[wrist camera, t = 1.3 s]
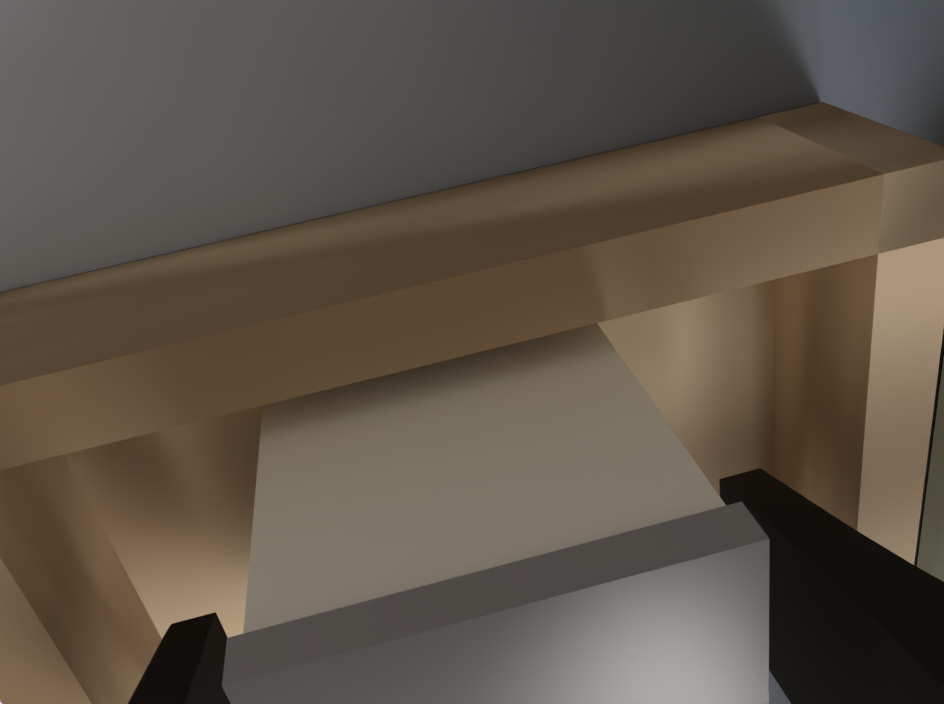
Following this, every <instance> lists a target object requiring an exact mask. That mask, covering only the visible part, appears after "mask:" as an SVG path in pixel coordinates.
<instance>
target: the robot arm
mask: <svg viewBox="0 0 944 704" xmlns="http://www.w3.org/2000/svg"><path fill="white" fill-rule="evenodd" d="M719 483H720V498H721V499H722V500H723V502H724V503H725V505H730V504H734V503H738V502H743V504H744V505H745V506H746V508H747V509H748V511H749V512H750V513H751V515H752V516H753V517H754V519H755V520H756V521H757V523H758V524H759V525H760V527H761V528H762V529H763V531H764V532H765V534H766V535H767V536H768V538H769V670H770V671H771V673H772V675H773V676H774V678H775V679H776V681H777V682H778V684H779V685H780V687H781V688H782V690H783V691H784V693H785V695H786V696H787V698H788V699H789V701H790V702H791V704H944V581H942V580H940V579H938V578H936V577H934V576H932V575H931V574H929V573H927V572H925V571H924V570H922V569H920V568H918V567H917V566H915V565H913V564H911V563H910V562H908V561H906V560H905V559H903V558H901V557H900V556H898V555H896V554H895V553H893V552H891V551H890V550H888V549H886V548H885V547H883V546H881V545H880V544H878V543H876V542H875V541H873V540H871V539H870V538H868V537H866V536H865V535H863V534H862V533H860V532H858V531H857V530H855V529H854V528H852V527H850V526H849V525H847V524H846V523H844V522H843V521H841V520H839V519H838V518H836V517H835V516H833V515H832V514H830V513H829V512H827V511H825V510H824V509H822V508H821V507H819V506H818V505H816V504H815V503H813V502H812V501H810V500H808V499H807V498H805V497H804V496H802V495H801V494H799V493H798V492H796V491H795V490H793V489H792V488H790V487H789V486H787V485H785V484H784V483H782V482H781V481H779V480H778V479H776V478H775V477H773V476H771V475H770V474H768V473H767V472H765V471H764V470H762V469H761V468H759V469H755V470H751V471H748V472H744V473H740V474H736V475H733V476H729V477H725V478H721V479H719ZM227 638H228V637H227V635H226V633H225V631H224V629H223V626H222V624H221V622H220V620H219V618H218V616H217V614H216V612H214V613H211V614H207V615H203V616H199V617H195V618H192V619H188V620H184V621H180V622H177V623H173V624H171V625H170V627H169V628H168V630H167V631H166V633H165V635H164V636H163V638H162V640H161V642H160V644H159V646H158V648H157V649H156V651H155V653H154V655H153V657H152V659H151V661H150V663H149V664H148V666H147V668H146V670H145V672H144V674H143V676H142V678H141V680H140V681H139V683H138V685H137V687H136V689H135V691H134V693H133V695H132V696H131V698H130V700H129V702H128V704H230V702H229V700H228V698H227V696H226V694H225V692H224V690H223V688H222V680H223V671H224V662H225V652H226V643H227Z"/></svg>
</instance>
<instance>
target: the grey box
mask: <svg viewBox="0 0 944 704" xmlns="http://www.w3.org/2000/svg"><path fill="white" fill-rule="evenodd" d="M222 688H223V690H224V692H225V694H226V696H227V698H228V700H229V702H230V704H769V538H768V536H767V535H766V534H765V532H764V531H763V529H762V528H761V527H760V525H759V524H758V523H757V521H756V520H755V519H754V517H753V516H752V515H751V513H750V512H749V511H748V509H747V508H746V506H745V505H744V504H743V502H738V503H734V504H730V505H725V503H724V502H723V500H722V499H721V498H720V496H719V495H718V493H717V492H716V491H715V489H714V488H713V486H712V485H711V483H710V482H709V481H708V479H707V478H706V476H705V475H704V474H703V472H702V471H701V469H700V468H699V466H698V465H697V464H696V462H695V461H694V459H693V458H692V457H691V455H690V454H689V452H688V451H687V450H686V448H685V447H684V445H683V444H682V442H681V441H680V440H679V438H678V437H677V435H676V434H675V433H674V431H673V430H672V428H671V427H670V426H669V424H668V423H667V421H666V420H665V418H664V417H663V416H662V414H661V413H660V411H659V410H658V409H657V407H656V406H655V404H654V403H653V401H652V400H651V399H650V397H649V396H648V394H647V393H646V392H645V390H644V389H643V387H642V386H641V385H640V383H639V382H638V380H637V379H636V377H635V376H634V375H633V373H632V372H631V370H630V369H629V368H628V366H627V365H626V363H625V362H624V361H623V359H622V358H621V356H620V355H619V353H618V352H617V351H616V349H615V348H614V346H613V345H612V344H611V342H610V341H609V339H608V338H607V336H606V335H605V334H604V332H603V331H602V329H601V328H600V327H599V325H598V324H597V323H596V324H592V325H587V326H583V327H579V328H575V329H571V330H567V331H563V332H559V333H555V334H551V335H547V336H543V337H539V338H535V339H531V340H527V341H523V342H518V343H514V344H510V345H506V346H502V347H498V348H494V349H490V350H486V351H482V352H478V353H474V354H470V355H466V356H462V357H458V358H453V359H449V360H445V361H441V362H437V363H433V364H429V365H425V366H421V367H417V368H413V369H409V370H405V371H401V372H397V373H393V374H388V375H384V376H380V377H376V378H372V379H368V380H364V381H360V382H356V383H352V384H348V385H344V386H340V387H336V388H332V389H328V390H323V391H319V392H315V393H311V394H307V395H303V396H299V397H295V398H291V399H287V400H283V401H279V402H275V403H271V404H267V405H263V408H262V419H261V431H260V443H259V455H258V466H257V478H256V490H255V501H254V513H253V525H252V537H251V548H250V560H249V572H248V583H247V595H246V607H245V619H244V630H243V634H240V635H236V636H232V637H229V638H227V643H226V652H225V662H224V671H223V680H222Z"/></svg>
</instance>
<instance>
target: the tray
mask: <svg viewBox="0 0 944 704" xmlns="http://www.w3.org/2000/svg"><path fill="white" fill-rule="evenodd" d="M917 567H918V568H920V569H922V570H924V571H925V572H927V573H929V574H931V575H932V576H934V577H936V578H938V579H940V580H942V581H944V357H943V365H942V373H941V381H940V389H939V396H938V404H937V412H936V420H935V428H934V436H933V444H932V451H931V459H930V467H929V475H928V483H927V491H926V498H925V506H924V514H923V522H922V530H921V538H920V545H919V553H918V561H917Z"/></svg>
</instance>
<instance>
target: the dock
mask: <svg viewBox="0 0 944 704" xmlns="http://www.w3.org/2000/svg"><path fill="white" fill-rule="evenodd" d="M596 323H597V324H598V325H599V327H600V328H601V329H602V331H603V332H604V334H605V335H606V336H607V338H608V339H609V341H610V342H611V344H612V345H613V346H614V348H615V349H616V351H617V352H618V353H619V355H620V356H621V358H622V359H623V361H624V362H625V363H626V365H627V366H628V368H629V369H630V370H631V372H632V373H633V375H634V376H635V377H636V379H637V380H638V382H639V383H640V385H641V386H642V387H643V389H644V390H645V392H646V393H647V394H648V396H649V397H650V399H651V400H652V401H653V403H654V404H655V406H656V407H657V409H658V410H659V411H660V413H661V414H662V416H663V417H664V418H665V420H666V421H667V423H668V424H669V426H670V427H671V428H672V430H673V431H674V433H675V434H676V435H677V437H678V438H679V440H680V441H681V442H682V444H683V445H684V447H685V448H686V450H687V451H688V452H689V454H690V455H691V457H692V458H693V459H694V461H695V462H696V464H697V465H698V466H699V468H700V469H701V471H702V472H703V474H704V475H705V476H706V478H707V479H708V481H709V482H710V483H711V485H712V486H713V488H714V489H715V491H716V492H717V493H718V495H719V496H720V483H719V479H721V478H725V477H729V476H733V475H736V474H740V473H744V472H748V471H751V470H755V469H759V468H761V469H762V470H764V471H765V472H767V473H768V474H770V475H771V476H773V477H775V478H776V479H778V480H779V481H781V482H782V483H784V484H785V485H787V486H789V487H790V488H792V489H793V490H795V491H796V492H798V493H799V494H801V495H802V496H804V497H805V498H807V499H808V500H810V501H812V502H813V503H815V504H816V505H818V506H819V507H821V508H822V509H824V510H825V511H827V512H829V513H830V514H832V515H833V516H835V517H836V518H838V519H839V520H841V521H843V522H844V523H846V524H847V525H849V526H850V527H852V528H854V529H855V530H857V531H858V532H860V533H862V534H863V535H865V536H866V537H868V538H870V539H871V540H873V541H875V542H876V543H878V544H880V545H881V546H883V547H885V548H886V549H888V550H890V551H891V552H893V553H895V554H896V555H898V556H900V557H901V558H903V559H905V560H906V561H908V562H910V563H911V564H913V565H914V561H915V553H916V545H917V537H918V529H919V521H920V513H921V505H922V497H923V489H924V481H925V473H926V465H927V457H928V449H929V441H930V433H931V425H932V417H933V409H934V401H935V393H936V385H937V377H938V369H939V361H940V353H941V345H942V337H943V329H944V147H943V146H940V145H937V144H935V143H932V142H929V141H927V140H924V139H921V138H918V137H916V136H913V135H910V134H908V133H905V132H902V131H900V130H897V129H894V128H891V127H889V126H886V125H883V124H881V123H878V122H875V121H873V120H870V119H867V118H864V117H862V116H859V115H856V114H854V113H851V112H848V111H845V110H843V109H840V108H837V107H835V106H832V105H829V104H827V103H824V102H821V103H817V104H813V105H808V106H804V107H800V108H796V109H791V110H787V111H783V112H778V113H774V114H770V115H765V116H761V117H757V118H752V119H748V120H744V121H739V122H735V123H731V124H726V125H722V126H718V127H713V128H709V129H705V130H700V131H696V132H692V133H688V134H683V135H679V136H675V137H670V138H666V139H662V140H657V141H653V142H649V143H644V144H640V145H636V146H631V147H627V148H623V149H618V150H614V151H610V152H605V153H601V154H597V155H592V156H588V157H584V158H580V159H575V160H571V161H567V162H562V163H558V164H554V165H549V166H545V167H541V168H536V169H532V170H528V171H523V172H519V173H515V174H510V175H506V176H502V177H497V178H493V179H489V180H484V181H480V182H476V183H472V184H467V185H463V186H459V187H454V188H450V189H446V190H441V191H437V192H433V193H428V194H424V195H420V196H415V197H411V198H407V199H402V200H398V201H394V202H389V203H385V204H381V205H376V206H372V207H368V208H364V209H359V210H355V211H351V212H346V213H342V214H338V215H333V216H329V217H325V218H320V219H316V220H312V221H307V222H303V223H299V224H294V225H290V226H286V227H281V228H277V229H273V230H268V231H264V232H260V233H256V234H251V235H247V236H243V237H238V238H234V239H230V240H225V241H221V242H217V243H212V244H208V245H204V246H199V247H195V248H191V249H186V250H182V251H178V252H173V253H169V254H165V255H160V256H156V257H152V258H148V259H143V260H139V261H135V262H130V263H126V264H122V265H117V266H113V267H109V268H104V269H100V270H96V271H91V272H87V273H83V274H78V275H74V276H70V277H65V278H61V279H57V280H52V281H48V282H44V283H40V284H35V285H31V286H27V287H22V288H18V289H14V290H9V291H5V292H1V293H0V700H1V702H2V703H3V704H128V702H129V700H130V698H131V696H132V695H133V693H134V691H135V689H136V687H137V685H138V683H139V681H140V680H141V678H142V676H143V674H144V672H145V670H146V668H147V666H148V664H149V663H150V661H151V659H152V657H153V655H154V653H155V651H156V649H157V648H158V646H159V644H160V642H161V640H162V638H163V636H164V635H165V633H166V631H167V630H168V628H169V627H170V625H171V624H173V623H177V622H180V621H184V620H188V619H192V618H195V617H199V616H203V615H207V614H211V613H214V612H216V614H217V616H218V618H219V620H220V622H221V624H222V626H223V629H224V631H225V633H226V635H227V637H228V638H229V637H232V636H236V635H240V634H243V630H244V619H245V607H246V595H247V583H248V572H249V560H250V548H251V537H252V525H253V513H254V501H255V490H256V478H257V466H258V455H259V443H260V431H261V419H262V408H263V405H267V404H271V403H275V402H279V401H283V400H287V399H291V398H295V397H299V396H303V395H307V394H311V393H315V392H319V391H323V390H328V389H332V388H336V387H340V386H344V385H348V384H352V383H356V382H360V381H364V380H368V379H372V378H376V377H380V376H384V375H388V374H393V373H397V372H401V371H405V370H409V369H413V368H417V367H421V366H425V365H429V364H433V363H437V362H441V361H445V360H449V359H453V358H458V357H462V356H466V355H470V354H474V353H478V352H482V351H486V350H490V349H494V348H498V347H502V346H506V345H510V344H514V343H518V342H523V341H527V340H531V339H535V338H539V337H543V336H547V335H551V334H555V333H559V332H563V331H567V330H571V329H575V328H579V327H583V326H587V325H592V324H596Z"/></svg>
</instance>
